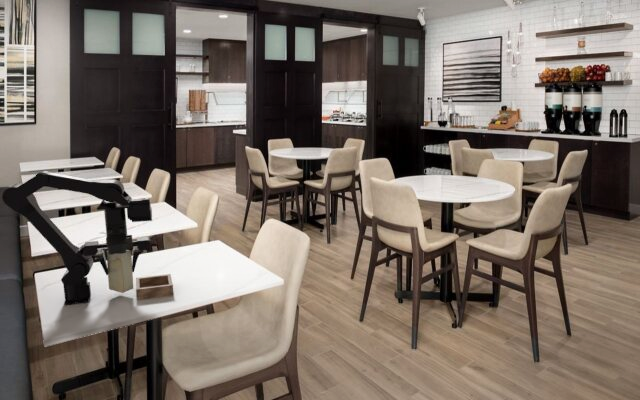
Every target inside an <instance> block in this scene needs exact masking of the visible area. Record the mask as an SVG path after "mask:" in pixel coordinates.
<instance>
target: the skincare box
mask: <svg viewBox="0 0 640 400" xmlns="http://www.w3.org/2000/svg"><path fill="white" fill-rule="evenodd" d="M132 259H133V255H132V250H130V249H126V252H125V253H122V254H121V253H117V254H112V255H111V254H109V253H108V250H106V263H107V268H108V275H107V279H108V289H109V290H110V291H114V292H117V293H121V294H123V293H127V292H129V291H130V290H133V289H134V277H133V273H134V272H132Z"/></svg>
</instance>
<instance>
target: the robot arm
mask: <svg viewBox="0 0 640 400" xmlns="http://www.w3.org/2000/svg"><path fill="white" fill-rule="evenodd" d="M44 187H46V188H47V187H48V188H51V189H52V188H53V189H58V190H59V189H60V190H65V191H70V192H75V193H82V194H86V195H89V196H93V197H95V198H97V199H98V200H101V202H100V204H99V205H98V206H97V207H96V210H97V211H99V210H100V211H101V210H103V212H104V221H105V234H106V238H105V243H100V242H99V241H98V240H95V241H85V243H84V244H82V245H81V246H80V247H79V246H77V245H75V244H73V243H72V241H70V239H69V238H68V237H67V236H66V235H65V234H64V232H62V231H61V230H60V228H59V227H58V226H57V225H56V224H55V223H54V222H53V221H52V219H50V218H49V216H48V215H47V214H46V213H45V212H44V211H43V210H42V209H41V207H40V206H39V202H38V200H37V198H36V196H35V195H34V194H35V193H36V192H38V191H39V190H40V189H42V188H44ZM1 196H2V197H1V200H2V202H3V204H4V205H5V206H7V207H8V208H9V209H11V210H12V211H14V212H15V213H17V214H18V215H20V216H22V217H25V219H27V221H28V222H29V223H30V224H31V225H32V226H33V228H35V230H37V231H38V233H39V234H40V235H41V236H42V237H43V238H44V239H45V240H46V241H47V242H48V243H49V244H50V246H51V247H52V248H53V249H54V250H55V251H56V252H57V253H58V254H59V255H60V257H61V260H62V263H63V264H64V267H65V268H66V270H65V273H64V274H63V276H62V277H61V280H60V281H61V283H62V285H63V293H64V294H63V295H64V302H63V303H64V306H65V305H67V306H68V305H74V304H80V303H81V304H82V303H88V302H90V301H89V300H90V298H91V296H92V290H91V282H90V281H88V276H87V275H89V273H90V272H91V270H92V267H93V265H94V258H95V259H96V260H98V262H99V263H100V266H101V267H102V269H103V270H104V273H105V275H106V276H108V266H107V257H106V255H105V254H106V253H105V251H108V253H109V254H111V255H112V254H117V253H121V254H122V253H125V252H126V250H127V249H130V248H131V249H132V273H135V270H136V267H137V266H136V265H137V262H138V259H139V256H140V254H143V253H144V251H149V250H152V242H151V237H150V236H139V237H138V236H136V240H133V235H132V234H128V231H127V230H128V226H127V219H128V220H129V221H131V222H132V223H137V222H138V223H139V222H153V212H152V211H153V209H152V205H151V198H150V197H147V198H145V197H144V198H138V199H133V198H132V197H131V196H130V194H129V193H128V192H127V191H125V186H124V184H123V183H122V182H121V181H120V180H117V179H104V178H103V179H88V178H83V177H77V176H72V175H67V174H61V173H56V172H50V171H48V170H42V171H40V172H38V173H37V174H35V176H33V177H31V178H30V179H28V180H27V181H25V182H23V183H19V182H18V183H15V184H13V185H11V186H9V187H8V188H6V189H4V190H3V192H2V195H1ZM126 213H127V214H126ZM126 217H127V218H126Z"/></svg>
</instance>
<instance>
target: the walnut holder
mask: <svg viewBox="0 0 640 400" xmlns="http://www.w3.org/2000/svg"><path fill="white" fill-rule="evenodd" d="M135 290H136V291H135V292H136V301H139V300H140V301H141V300H149V299H157V298H165V297H173V296H174V285H173V280H172V275H171V273H168V274H158V275H151V276H150V275H149V276H141V277H136V278H135Z"/></svg>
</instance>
